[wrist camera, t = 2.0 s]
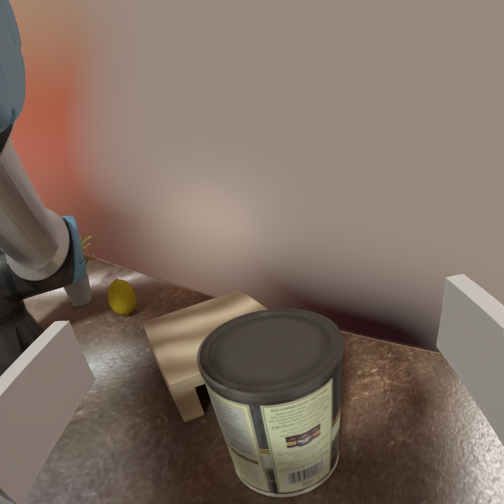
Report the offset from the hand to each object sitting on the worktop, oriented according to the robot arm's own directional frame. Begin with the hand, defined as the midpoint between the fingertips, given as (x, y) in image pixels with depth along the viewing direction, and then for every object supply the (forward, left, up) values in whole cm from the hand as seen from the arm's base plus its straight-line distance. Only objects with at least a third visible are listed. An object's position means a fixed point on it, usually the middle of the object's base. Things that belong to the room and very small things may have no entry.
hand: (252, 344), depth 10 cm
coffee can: (-9, +5, -21) cm, 24 cm away
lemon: (-52, -4, -21) cm, 56 cm away
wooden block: (-27, +6, -21) cm, 35 cm away
